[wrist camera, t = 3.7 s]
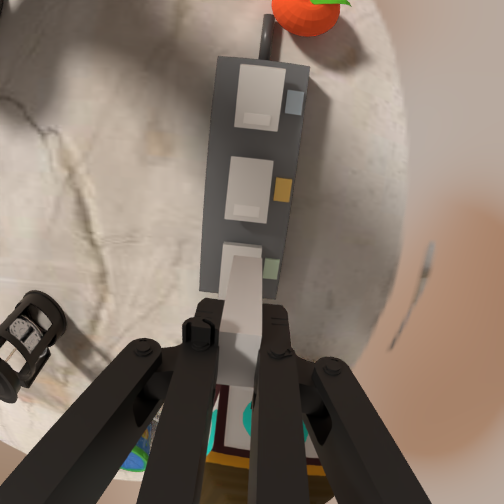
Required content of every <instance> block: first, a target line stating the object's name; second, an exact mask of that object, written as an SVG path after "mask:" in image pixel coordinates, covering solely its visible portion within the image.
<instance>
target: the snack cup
mask: <svg viewBox="0 0 504 504" xmlns="http://www.w3.org/2000/svg"><path fill="white" fill-rule="evenodd" d="M151 431H152V426H151V423H150V424H149V426H148V427H147V429H146V430H145V432H144V433H143V435H142V436H141V438H140V439H139V441H138V442H137V444H136V445H135V447H134V448H133V450H132V451H131V453H130V454H129V456H128V457H127V459H126V460H125V462H124V463H123V465H122V466H121V467H120V469H123V470H127V471H132V472H143V471H145V469H146V465H147V461H148V458H149V453H150V442H151Z"/></svg>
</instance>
